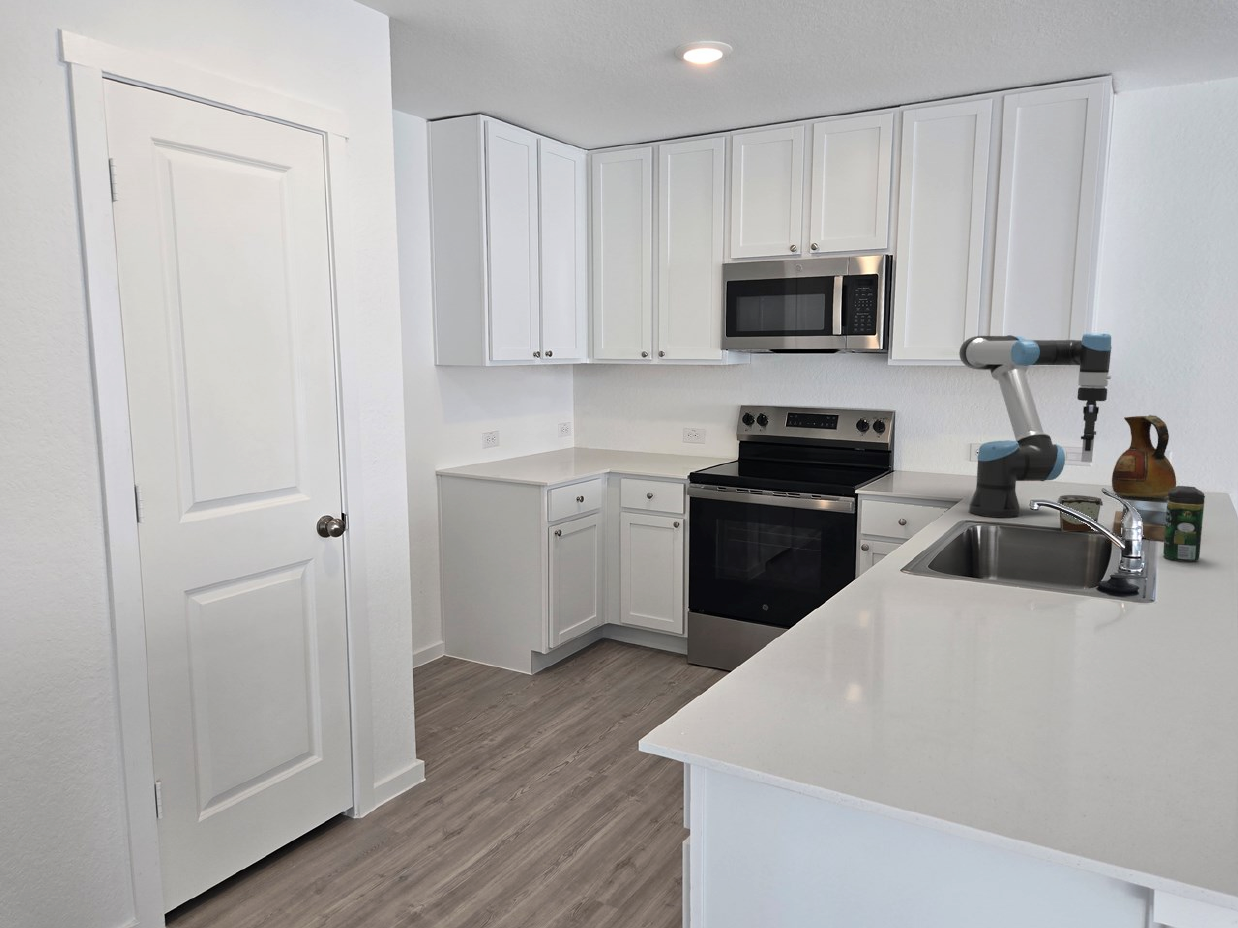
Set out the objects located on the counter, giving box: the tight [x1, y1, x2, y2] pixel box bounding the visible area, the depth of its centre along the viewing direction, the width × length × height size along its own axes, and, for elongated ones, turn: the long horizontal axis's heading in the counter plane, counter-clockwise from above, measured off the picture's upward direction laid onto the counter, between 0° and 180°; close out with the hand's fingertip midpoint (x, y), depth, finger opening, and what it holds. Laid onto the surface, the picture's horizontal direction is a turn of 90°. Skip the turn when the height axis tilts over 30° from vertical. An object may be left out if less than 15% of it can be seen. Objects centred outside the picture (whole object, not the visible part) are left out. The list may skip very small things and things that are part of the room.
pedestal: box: [1112, 499, 1167, 542], centre depth 250 cm, size 20×20×8 cm
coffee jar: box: [1162, 485, 1206, 563], centre depth 220 cm, size 10×8×19 cm
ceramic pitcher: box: [1111, 414, 1177, 498], centre depth 306 cm, size 20×20×30 cm
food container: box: [1057, 494, 1104, 533], centre depth 255 cm, size 12×6×10 cm, turn 84°
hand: (1086, 459), depth 253 cm, fingers open, 13 cm apart
